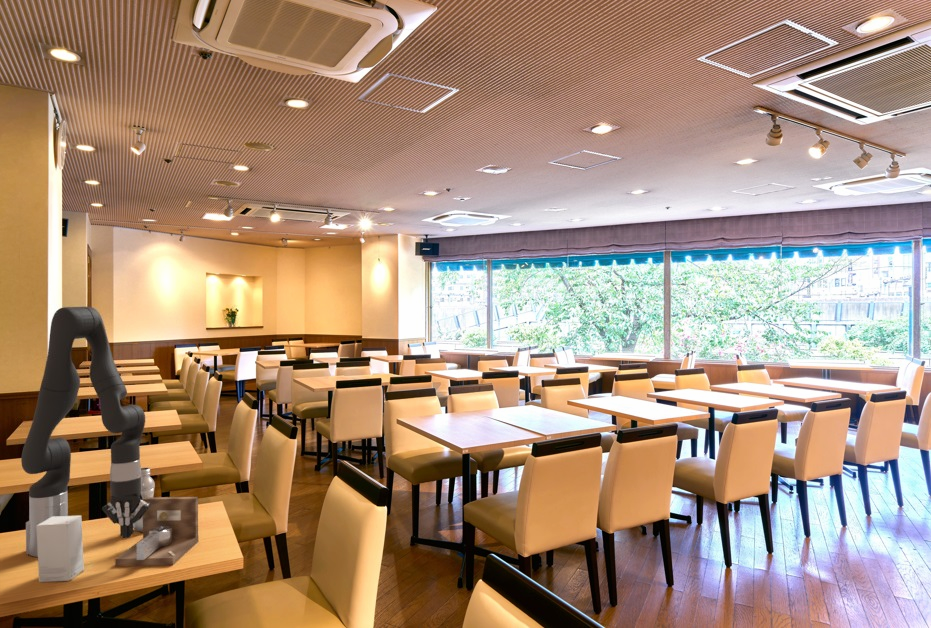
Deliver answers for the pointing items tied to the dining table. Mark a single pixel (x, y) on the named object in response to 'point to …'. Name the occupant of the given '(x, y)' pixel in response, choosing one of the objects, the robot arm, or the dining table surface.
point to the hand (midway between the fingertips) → (127, 537)
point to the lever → (154, 541)
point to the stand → (168, 513)
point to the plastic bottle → (144, 494)
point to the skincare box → (60, 548)
